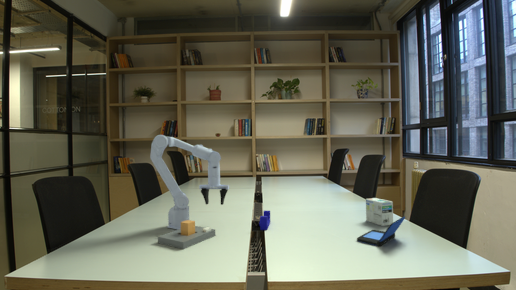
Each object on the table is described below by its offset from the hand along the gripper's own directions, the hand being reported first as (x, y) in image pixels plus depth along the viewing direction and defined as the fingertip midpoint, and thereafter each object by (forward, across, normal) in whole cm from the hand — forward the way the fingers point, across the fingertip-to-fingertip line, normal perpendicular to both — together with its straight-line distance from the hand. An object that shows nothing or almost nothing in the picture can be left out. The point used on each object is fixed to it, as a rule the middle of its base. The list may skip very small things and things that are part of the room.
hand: (214, 204), depth 140 cm
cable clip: (+10, +24, -1) cm, 26 cm away
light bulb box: (+10, +77, +12) cm, 78 cm away
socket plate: (+9, -3, -23) cm, 25 cm away
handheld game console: (+10, +73, -13) cm, 74 cm away
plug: (+9, -3, -23) cm, 25 cm away
